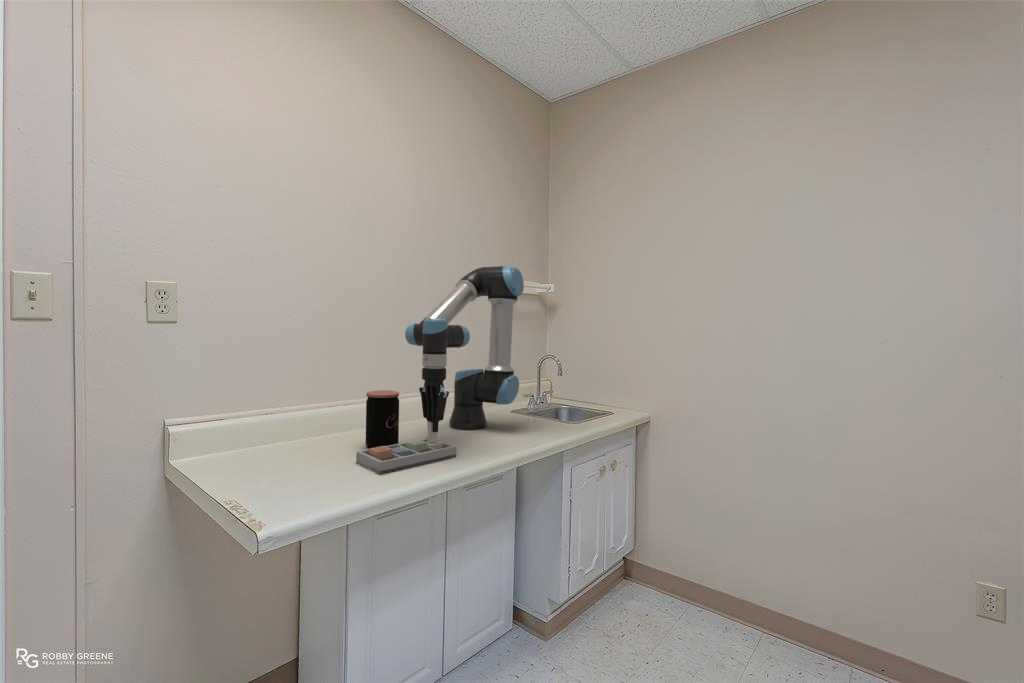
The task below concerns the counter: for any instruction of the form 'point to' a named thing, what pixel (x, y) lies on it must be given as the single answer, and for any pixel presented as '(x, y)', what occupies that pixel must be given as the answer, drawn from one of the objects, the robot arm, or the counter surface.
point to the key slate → (401, 451)
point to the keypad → (405, 458)
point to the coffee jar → (382, 418)
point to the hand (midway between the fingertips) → (432, 441)
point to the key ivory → (435, 445)
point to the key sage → (417, 445)
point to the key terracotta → (381, 452)
